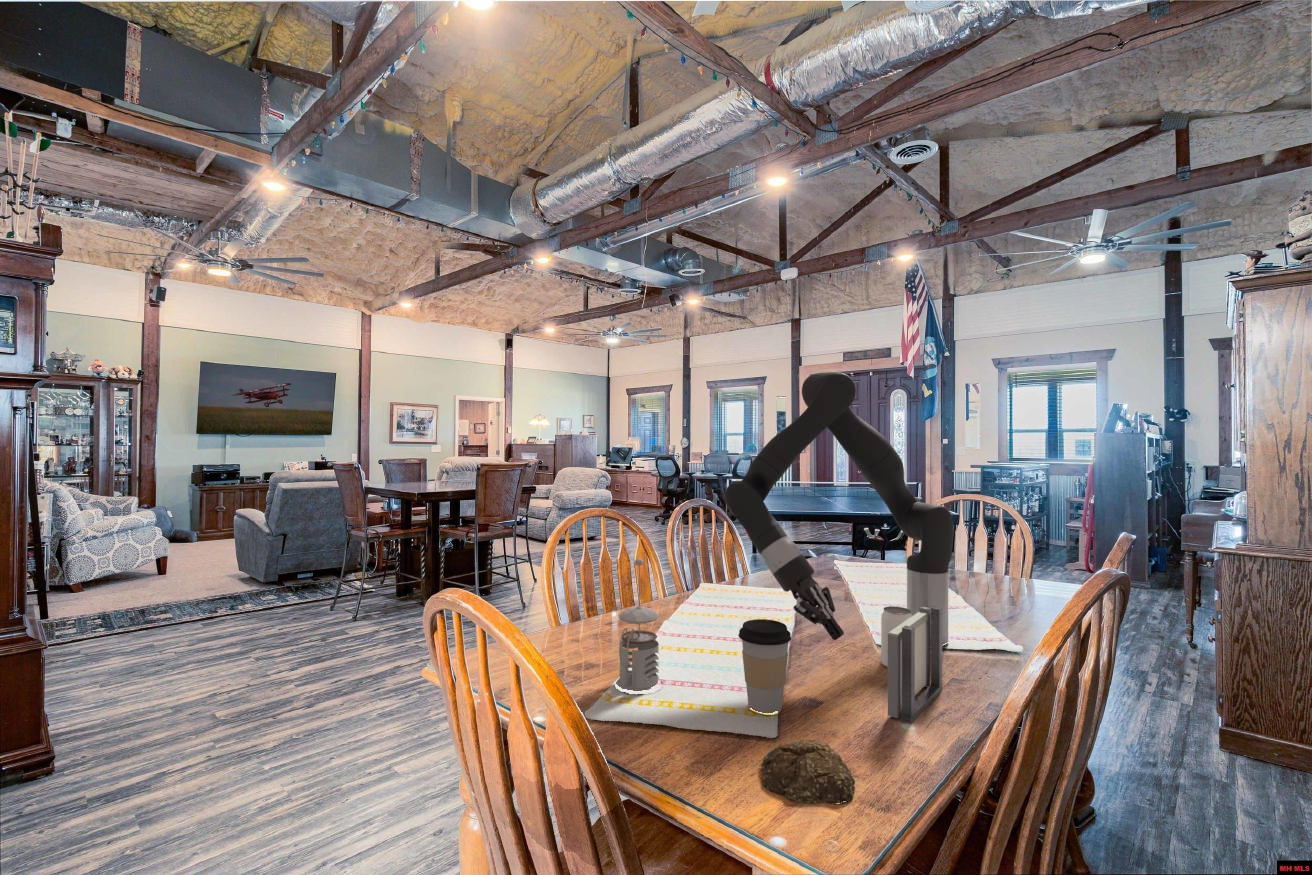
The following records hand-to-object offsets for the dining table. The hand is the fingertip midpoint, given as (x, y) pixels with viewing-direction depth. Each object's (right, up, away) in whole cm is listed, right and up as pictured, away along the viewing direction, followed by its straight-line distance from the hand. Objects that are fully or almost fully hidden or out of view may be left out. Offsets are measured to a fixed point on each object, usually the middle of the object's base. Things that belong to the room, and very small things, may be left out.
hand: (839, 637), depth 119 cm
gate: (+11, -9, -7) cm, 16 cm away
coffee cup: (-17, -10, -10) cm, 22 cm away
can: (+16, -10, +11) cm, 22 cm away
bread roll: (-15, -10, -33) cm, 37 cm away
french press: (-40, -10, 0) cm, 41 cm away
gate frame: (+12, -10, -9) cm, 18 cm away
